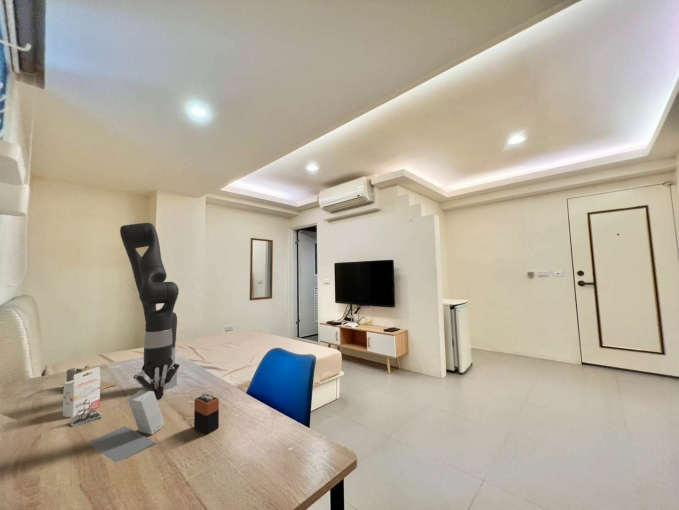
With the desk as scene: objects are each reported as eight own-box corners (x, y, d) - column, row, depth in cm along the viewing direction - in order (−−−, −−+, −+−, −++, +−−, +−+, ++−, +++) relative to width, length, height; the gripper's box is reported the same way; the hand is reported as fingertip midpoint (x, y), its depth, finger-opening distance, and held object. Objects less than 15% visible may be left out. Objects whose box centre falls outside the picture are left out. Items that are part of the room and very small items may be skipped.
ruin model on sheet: (116, 384, 119) (116, 362, 119) (68, 401, 103) (69, 375, 104) (84, 377, 128) (85, 357, 129) (36, 392, 113) (37, 368, 113)
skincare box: (165, 423, 83) (154, 391, 80) (152, 435, 79) (140, 402, 76) (151, 420, 85) (140, 388, 82) (138, 431, 81) (126, 399, 78)
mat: (124, 428, 83) (125, 426, 83) (155, 444, 74) (155, 442, 74) (68, 453, 71) (68, 451, 72) (96, 476, 63) (96, 473, 63)
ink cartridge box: (90, 405, 98) (91, 365, 99) (100, 406, 97) (101, 366, 98) (61, 417, 90) (63, 374, 91) (72, 419, 89) (73, 374, 90)
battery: (206, 435, 78) (206, 400, 79) (193, 429, 81) (193, 395, 82) (219, 428, 82) (219, 395, 82) (206, 422, 85) (207, 390, 86)
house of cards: (103, 409, 95) (103, 388, 96) (108, 417, 90) (109, 394, 90) (67, 421, 88) (68, 397, 89) (70, 430, 83) (72, 405, 83)
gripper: (172, 338, 92) (171, 389, 91) (128, 348, 80) (126, 406, 79) (185, 340, 88) (184, 393, 87) (141, 350, 77) (139, 412, 76)
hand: (157, 399), depth 83 cm, fingers closed
